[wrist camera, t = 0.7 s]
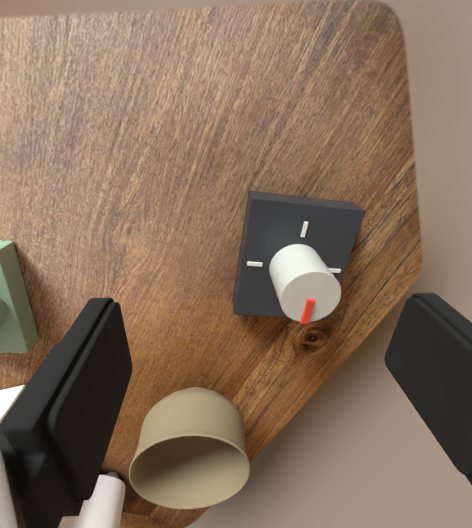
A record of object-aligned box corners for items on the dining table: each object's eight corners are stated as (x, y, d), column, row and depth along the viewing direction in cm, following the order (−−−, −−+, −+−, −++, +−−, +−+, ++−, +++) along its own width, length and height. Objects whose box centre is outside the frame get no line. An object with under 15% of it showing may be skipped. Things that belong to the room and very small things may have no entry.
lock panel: (248, 190, 25) (252, 198, 22) (353, 202, 26) (367, 211, 24) (232, 300, 30) (233, 315, 28) (319, 305, 32) (327, 321, 29)
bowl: (249, 363, 35) (260, 446, 26) (236, 424, 41) (241, 508, 32) (147, 359, 34) (123, 445, 25) (149, 423, 40) (130, 511, 31)
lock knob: (274, 241, 25) (288, 271, 20) (326, 246, 25) (351, 276, 20) (265, 286, 27) (275, 323, 22) (312, 290, 27) (332, 326, 23)
